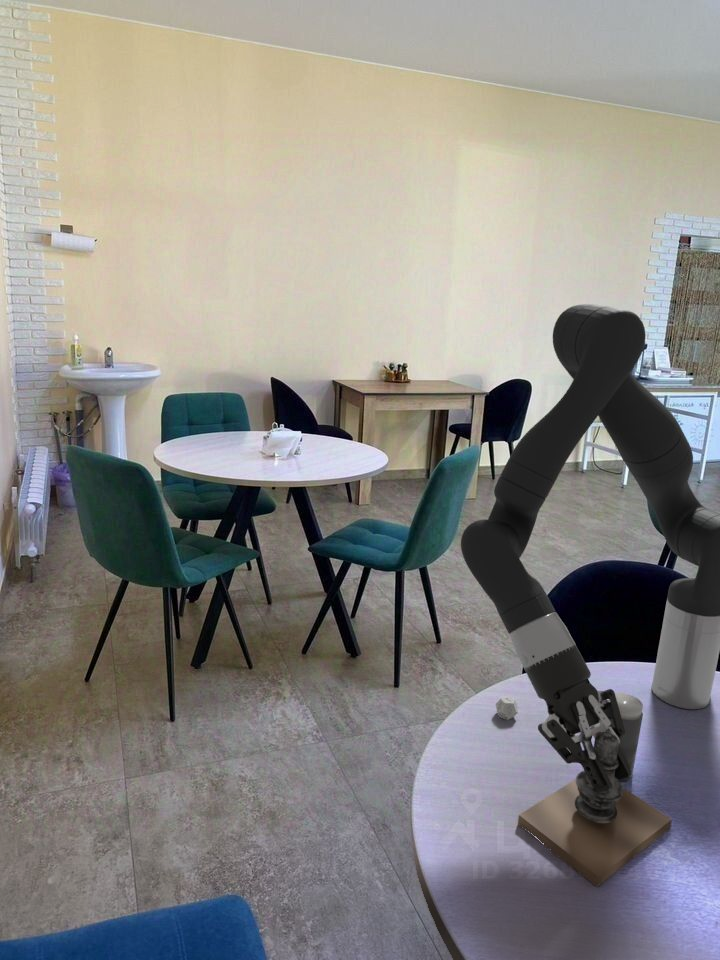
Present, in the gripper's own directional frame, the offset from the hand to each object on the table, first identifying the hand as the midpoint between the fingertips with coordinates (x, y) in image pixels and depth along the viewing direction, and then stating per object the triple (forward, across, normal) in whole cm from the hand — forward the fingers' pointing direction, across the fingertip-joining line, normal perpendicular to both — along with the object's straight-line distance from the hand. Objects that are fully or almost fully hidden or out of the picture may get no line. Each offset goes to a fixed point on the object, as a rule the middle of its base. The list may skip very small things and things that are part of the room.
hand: (615, 782), depth 89 cm
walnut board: (+4, 0, +7) cm, 8 cm away
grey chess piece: (+2, 0, +5) cm, 6 cm away
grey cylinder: (+1, +12, +10) cm, 16 cm away
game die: (-12, +9, +24) cm, 28 cm away
